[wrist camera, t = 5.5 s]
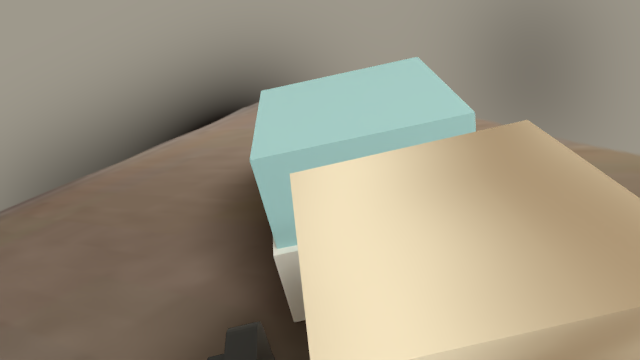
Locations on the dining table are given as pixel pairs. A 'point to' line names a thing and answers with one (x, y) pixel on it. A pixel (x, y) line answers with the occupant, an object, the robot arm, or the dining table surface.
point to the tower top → (346, 126)
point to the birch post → (469, 253)
